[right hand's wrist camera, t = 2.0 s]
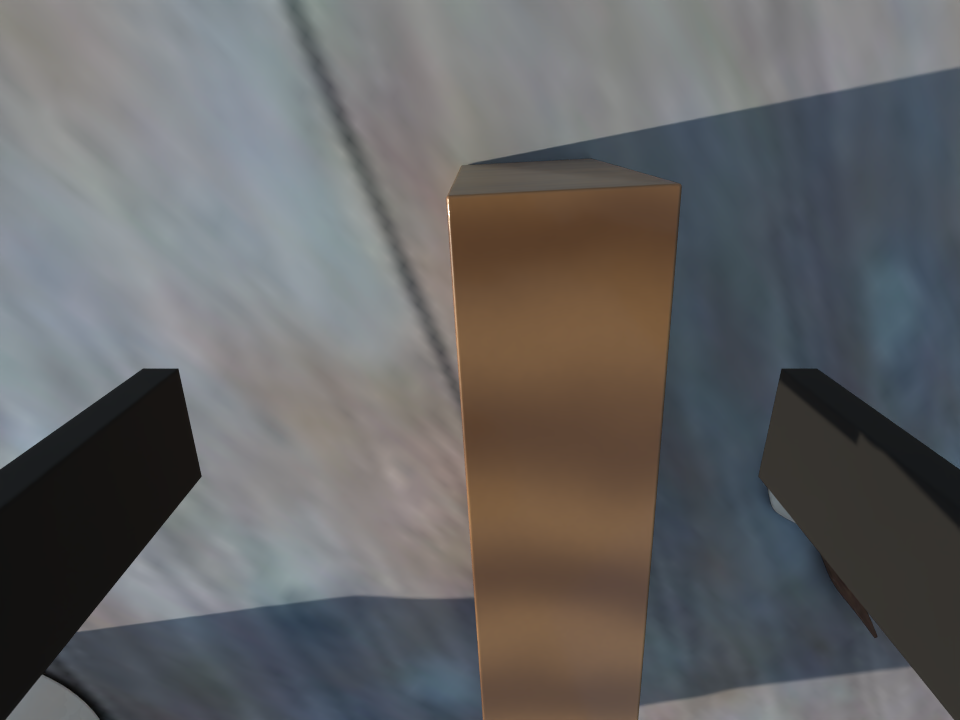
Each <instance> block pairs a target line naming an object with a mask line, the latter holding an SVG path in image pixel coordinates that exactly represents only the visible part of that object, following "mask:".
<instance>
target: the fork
mask: <svg viewBox="0 0 960 720" xmlns="http://www.w3.org/2000/svg"><path fill="white" fill-rule="evenodd" d="M768 493H769V498H770V501H771V505H772V507H773V509H774V510H775V511H776V512H777V513H778V514H780V515H781V516H783V517H784V518H786V519H788V520H790V521H792V522H794V523H795V521H794V520H793V519H792V518H791V516H790V515H789V514H788V513H787V511H786V510H785V509H784V508H783V506H782V505H781V504H780V503H779V501H778V500H777V499H776V498H775V496H774V495H773V494H772V493H771V491H770V490H769V489H768ZM821 556H822V555H821ZM822 559H823V562H824V564H825V567H826V569H827V572H828V574H829V576H830V578H831V580H832V582H833V584H834V585H835V587H836V588H837V590H838V591H839V592H840V594H841V595H842V596H843V597H844V599H845V600H846V601H847V602H848V604H849V605H850V606H851V607H852V609H853V610H854V611H855V612H856V614H857V615H858V616H859V618H860V619H861V620H862V622H863V623H864V624H865V626H866V627H867V628H868V630H869V631H870V633H871V634H872V635H873V637H874V638H877V634H876V631H875V629H874V626H873V624H872V622H871V619H870V617H869V615H868V612H867V611H866V609H865V608H864V607H863V606H862V604H861V603H860V602H859V601H858V600H857V598H856V597H855V596H854V595H853V593H852V592H851V591H850V590H849V588H848V587H847V586H846V585H845V583H844V582H843V581H842V580H841V578H840V577H839V576H838V575H837V573H836V572H835V571H834V570H833V568H832V567H831V566H830V565H829V564H828V562H827V561H826V560H825V559H824V557H823V556H822Z"/></svg>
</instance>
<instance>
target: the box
mask: <svg viewBox="0 0 960 720" xmlns="http://www.w3.org/2000/svg"><path fill="white" fill-rule="evenodd" d="M681 189H682V186H681V184H679V183H676V182H672V181H669V180H665V179H662V178H658V177H655V176H651V175H648V174H644V173H641V172H637V171H634V170H630V169H627V168H623V167H620V166H616V165H613V164H609V163H606V162H602V161H599V160H595V159H592V158H591V159H572V160H553V161H534V162H515V163H496V164H477V165H462V166H461V168H460V170H459V172H458V174H457V177H456V179H455V181H454V183H453V185H452V187H451V189H450V191H449V193H448V196H447V198H446V201H447V215H448V229H449V243H450V257H451V272H452V286H453V300H454V314H455V329H456V343H457V357H458V371H459V385H460V400H461V414H462V428H463V442H464V457H465V471H466V485H467V499H468V513H469V528H470V542H471V556H472V570H473V585H474V599H475V613H476V627H477V641H478V656H479V670H480V684H481V698H482V713H483V720H638V715H639V703H640V691H641V679H642V666H643V654H644V642H645V630H646V617H647V605H648V593H649V581H650V569H651V556H652V544H653V532H654V520H655V507H656V495H657V483H658V471H659V458H660V446H661V434H662V422H663V409H664V397H665V385H666V373H667V360H668V348H669V336H670V324H671V311H672V299H673V287H674V275H675V262H676V250H677V238H678V226H679V214H680V201H681Z"/></svg>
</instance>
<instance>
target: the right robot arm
mask: <svg viewBox="0 0 960 720" xmlns="http://www.w3.org/2000/svg"><path fill="white" fill-rule="evenodd" d="M201 477H202V476H201V471H200V467H199V462H198V457H197V453H196V448H195V444H194V439H193V434H192V430H191V425H190V420H189V416H188V411H187V407H186V402H185V397H184V393H183V388H182V384H181V379H180V374H179V370H178V369H142V370H141V371H139V372H138V373H136V374H135V375H133V376H132V377H131V378H129V379H128V380H126V381H125V382H124V383H122V384H121V385H119V386H118V387H116V388H115V389H114V390H112V391H111V392H109V393H108V394H107V395H105V396H104V397H102V398H101V399H99V400H98V401H97V402H95V403H94V404H92V405H91V406H90V407H88V408H87V409H85V410H84V411H82V412H81V413H80V414H78V415H77V416H75V417H74V418H73V419H71V420H70V421H68V422H67V423H65V424H64V425H63V426H61V427H60V428H58V429H57V430H56V431H54V432H53V433H51V434H50V435H48V436H47V437H46V438H44V439H43V440H41V441H40V442H39V443H37V444H36V445H34V446H33V447H31V448H30V449H29V450H27V451H26V452H24V453H23V454H22V455H20V456H19V457H17V458H16V459H15V460H13V461H12V462H10V463H9V464H7V465H6V466H5V467H3V468H2V469H0V720H6V719H7V718H8V716H9V715H10V714H11V713H12V711H13V710H14V709H15V708H16V706H17V705H18V704H19V703H20V701H21V700H22V699H23V698H24V696H25V695H26V694H27V693H28V691H29V690H30V689H31V688H32V686H33V685H34V684H35V683H36V681H37V680H38V679H39V678H40V677H41V675H42V674H43V673H44V672H45V670H46V669H47V668H48V667H49V665H50V664H51V663H52V662H53V660H54V659H55V658H56V657H57V655H58V654H59V653H60V652H61V650H62V649H63V648H64V647H65V645H66V644H67V643H68V642H69V641H70V639H71V638H72V637H73V636H74V634H75V633H76V632H77V631H78V629H79V628H80V627H81V626H82V624H83V623H84V622H85V621H86V619H87V618H88V617H89V616H90V614H91V613H92V612H93V611H94V609H95V608H96V607H97V606H98V604H99V603H100V602H101V601H102V600H103V598H104V597H105V596H106V595H107V593H108V592H109V591H110V590H111V588H112V587H113V586H114V585H115V583H116V582H117V581H118V580H119V578H120V577H121V576H122V575H123V573H124V572H125V571H126V570H127V568H128V567H129V566H130V565H131V564H132V562H133V561H134V560H135V559H136V557H137V556H138V555H139V554H140V552H141V551H142V550H143V549H144V547H145V546H146V545H147V544H148V542H149V541H150V540H151V539H152V537H153V536H154V535H155V534H156V532H157V531H158V530H159V529H160V527H161V526H162V525H163V524H164V523H165V521H166V520H167V519H168V518H169V516H170V515H171V514H172V513H173V511H174V510H175V509H176V508H177V506H178V505H179V504H180V503H181V501H182V500H183V499H184V498H185V496H186V495H187V494H188V493H189V491H190V490H191V489H192V488H193V487H194V485H195V484H196V483H197V482H198V480H199V479H200V478H201ZM758 477H759V478H760V479H761V480H762V482H763V483H764V484H765V485H766V487H767V488H768V489H769V490H770V491H771V493H772V494H773V495H774V496H775V498H776V499H777V500H778V501H779V503H780V504H781V505H782V506H783V508H784V509H785V510H786V511H787V513H788V514H789V515H790V516H791V518H792V519H793V520H794V521H795V523H796V524H797V525H798V526H799V527H800V529H801V530H802V531H803V532H804V534H805V535H806V536H807V537H808V539H809V540H810V541H811V542H812V544H813V545H814V546H815V547H816V549H817V550H818V551H819V552H820V554H821V555H822V556H823V557H824V559H825V560H826V561H827V562H828V564H829V565H830V566H831V567H832V568H833V570H834V571H835V572H836V573H837V575H838V576H839V577H840V578H841V580H842V581H843V582H844V583H845V585H846V586H847V587H848V588H849V590H850V591H851V592H852V593H853V595H854V596H855V597H856V598H857V600H858V601H859V602H860V603H861V604H862V606H863V607H864V608H865V609H866V611H867V612H868V613H869V614H870V616H871V617H872V618H873V619H874V621H875V622H876V623H877V624H878V626H879V627H880V628H881V629H882V631H883V632H884V633H885V634H886V636H887V637H888V638H889V639H890V641H891V642H892V643H893V644H894V645H895V647H896V648H897V649H898V650H899V652H900V653H901V654H902V655H903V657H904V658H905V659H906V660H907V662H908V663H909V664H910V665H911V667H912V668H913V669H914V670H915V672H916V673H917V674H918V675H919V677H920V678H921V679H922V680H923V681H924V683H925V684H926V685H927V686H928V688H929V689H930V690H931V691H932V693H933V694H934V695H935V696H936V698H937V699H938V700H939V701H940V703H941V704H942V705H943V706H944V708H945V709H946V710H947V711H948V713H949V714H950V715H951V716H952V718H953V719H954V720H960V469H958V468H957V467H955V466H954V465H953V464H951V463H950V462H948V461H947V460H945V459H944V458H943V457H941V456H940V455H938V454H937V453H936V452H934V451H933V450H931V449H930V448H929V447H927V446H926V445H924V444H923V443H921V442H920V441H919V440H917V439H916V438H914V437H913V436H912V435H910V434H909V433H907V432H906V431H904V430H903V429H902V428H900V427H899V426H897V425H896V424H895V423H893V422H892V421H890V420H889V419H887V418H886V417H885V416H883V415H882V414H880V413H879V412H878V411H876V410H875V409H873V408H872V407H870V406H869V405H868V404H866V403H865V402H863V401H862V400H861V399H859V398H858V397H856V396H855V395H853V394H852V393H851V392H849V391H848V390H846V389H845V388H844V387H842V386H841V385H839V384H838V383H836V382H835V381H834V380H832V379H831V378H829V377H828V376H827V375H825V374H824V373H822V372H821V371H819V370H818V369H782V370H781V374H780V379H779V383H778V388H777V393H776V397H775V402H774V407H773V411H772V416H771V420H770V425H769V430H768V434H767V439H766V444H765V448H764V453H763V457H762V462H761V467H760V471H759V476H758Z"/></svg>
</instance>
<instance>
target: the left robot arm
mask: <svg viewBox="0 0 960 720" xmlns="http://www.w3.org/2000/svg"><path fill="white" fill-rule="evenodd" d="M6 720H100V719H99V718H98V716H97V715H96V714H95V713H94V711H93V710H92V709H91V708H90V707H89V706H88V705H87V704H86V703H85V702H84V701H83V700H82V699H81V698H79V697H78V696H77V695H76V694H74V693H73V692H72V691H70V690H69V689H67V688H66V687H64V686H63V685H61V684H59V683H58V682H56V681H54V680H52V679H50V678H48V677H46V676H44V675H41V677H40V678H39V679H38V680H37V681H36V683H35V684H34V685H33V686H32V688H31V689H30V690H29V691H28V693H27V694H26V695H25V696H24V698H23V699H22V700H21V701H20V703H19V704H18V705H17V706H16V708H15V709H14V710H13V711H12V713H11V714H10V715H9V716H8V718H7V719H6Z"/></svg>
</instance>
